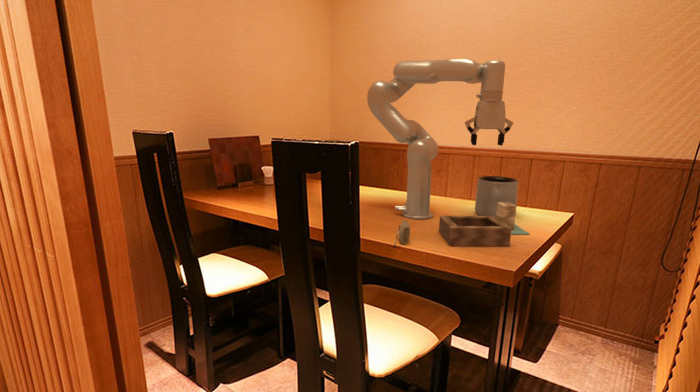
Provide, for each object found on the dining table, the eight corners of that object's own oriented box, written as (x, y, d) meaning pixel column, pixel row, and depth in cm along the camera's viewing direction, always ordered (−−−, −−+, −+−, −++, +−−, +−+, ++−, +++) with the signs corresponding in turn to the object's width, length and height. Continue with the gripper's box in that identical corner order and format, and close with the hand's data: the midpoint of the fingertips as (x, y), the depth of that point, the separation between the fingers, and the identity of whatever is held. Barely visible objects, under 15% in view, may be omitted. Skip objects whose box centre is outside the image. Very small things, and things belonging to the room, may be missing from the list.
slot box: (450, 246, 118) (451, 227, 116) (438, 231, 132) (439, 215, 131) (509, 246, 118) (511, 228, 117) (491, 232, 132) (493, 215, 131)
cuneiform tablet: (394, 247, 116) (392, 235, 128) (408, 250, 116) (405, 238, 128) (399, 226, 114) (397, 216, 126) (413, 229, 114) (410, 219, 126)
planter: (516, 221, 146) (520, 183, 143) (473, 217, 152) (476, 180, 149) (513, 212, 161) (517, 177, 158) (475, 209, 167) (478, 174, 163)
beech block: (501, 230, 134) (503, 205, 132) (495, 225, 140) (497, 202, 138) (513, 230, 134) (516, 206, 132) (507, 225, 140) (509, 202, 138)
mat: (495, 234, 130) (495, 233, 130) (481, 223, 144) (481, 222, 144) (529, 234, 130) (529, 233, 130) (512, 223, 144) (512, 222, 144)
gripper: (470, 96, 129) (466, 145, 133) (519, 96, 129) (514, 146, 133) (463, 97, 137) (460, 144, 140) (510, 98, 137) (506, 144, 140)
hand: (486, 145), depth 136 cm, fingers open, 9 cm apart
